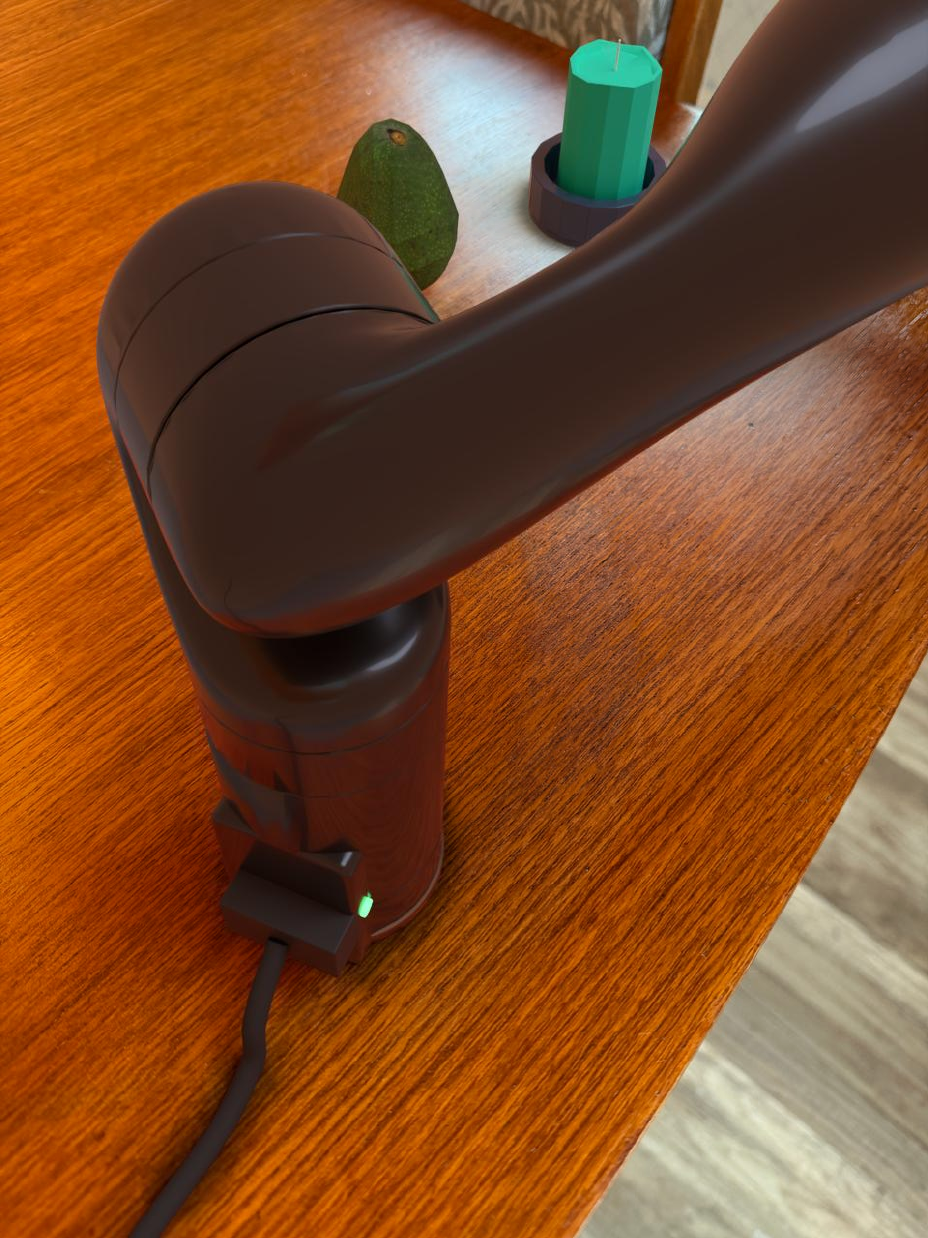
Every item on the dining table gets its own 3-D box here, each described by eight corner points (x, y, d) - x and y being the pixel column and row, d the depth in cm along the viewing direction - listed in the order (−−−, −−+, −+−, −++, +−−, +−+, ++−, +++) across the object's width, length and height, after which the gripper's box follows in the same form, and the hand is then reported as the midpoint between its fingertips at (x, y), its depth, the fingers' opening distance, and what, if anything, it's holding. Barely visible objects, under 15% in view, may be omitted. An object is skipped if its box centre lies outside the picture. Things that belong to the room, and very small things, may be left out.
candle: (632, 236, 84) (661, 71, 74) (548, 222, 84) (565, 57, 74) (642, 186, 87) (671, 22, 77) (561, 173, 88) (579, 9, 78)
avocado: (333, 326, 78) (321, 159, 68) (339, 250, 82) (329, 84, 73) (456, 329, 78) (462, 163, 68) (456, 253, 83) (461, 87, 73)
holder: (634, 265, 82) (642, 221, 80) (508, 228, 84) (511, 184, 82) (675, 191, 88) (684, 148, 85) (555, 158, 90) (559, 115, 87)
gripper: (1120, 39, 67) (848, -48, 71) (1044, 157, 59) (747, 52, 64) (1060, 160, 73) (813, 72, 78) (984, 282, 65) (717, 176, 70)
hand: (783, 63), depth 71 cm, fingers open, 8 cm apart
